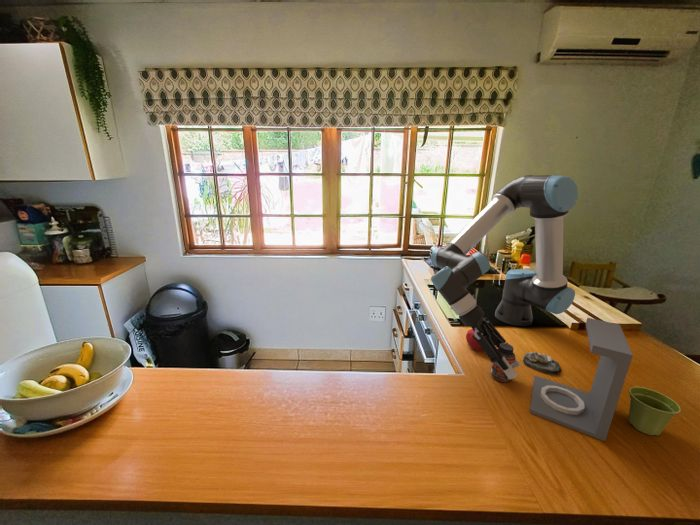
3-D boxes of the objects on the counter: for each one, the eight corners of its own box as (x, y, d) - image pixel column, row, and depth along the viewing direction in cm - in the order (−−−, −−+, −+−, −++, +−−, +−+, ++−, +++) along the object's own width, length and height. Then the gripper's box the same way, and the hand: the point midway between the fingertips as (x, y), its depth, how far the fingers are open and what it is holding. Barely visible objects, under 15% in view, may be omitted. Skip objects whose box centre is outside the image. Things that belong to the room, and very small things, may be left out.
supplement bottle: (487, 377, 96) (493, 345, 93) (493, 369, 100) (499, 338, 97) (507, 386, 92) (514, 353, 89) (513, 377, 96) (519, 346, 93)
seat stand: (534, 378, 96) (549, 309, 89) (597, 398, 87) (619, 324, 81) (529, 412, 81) (547, 333, 75) (605, 441, 73) (632, 355, 66)
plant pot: (621, 407, 84) (630, 381, 82) (669, 427, 78) (680, 399, 75) (618, 425, 78) (627, 398, 75) (669, 449, 71) (681, 419, 69)
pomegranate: (464, 350, 111) (467, 328, 108) (465, 337, 120) (468, 316, 117) (493, 356, 107) (497, 333, 105) (492, 342, 116) (496, 321, 113)
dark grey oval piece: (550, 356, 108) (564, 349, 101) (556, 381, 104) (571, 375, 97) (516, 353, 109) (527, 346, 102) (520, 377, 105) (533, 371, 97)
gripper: (465, 305, 107) (508, 361, 103) (449, 326, 92) (499, 392, 88) (483, 295, 103) (529, 353, 98) (470, 315, 88) (523, 384, 83)
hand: (515, 371), depth 93 cm, fingers closed on supplement bottle, 6 cm apart
